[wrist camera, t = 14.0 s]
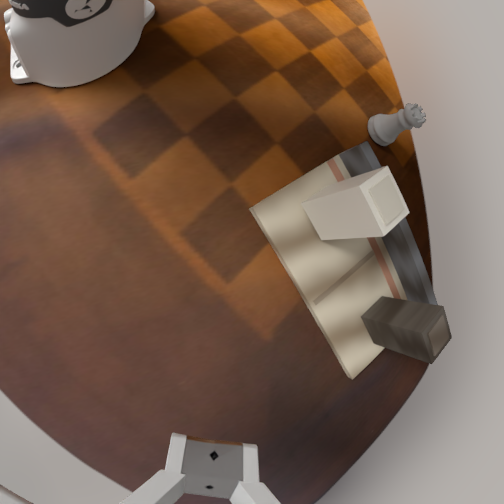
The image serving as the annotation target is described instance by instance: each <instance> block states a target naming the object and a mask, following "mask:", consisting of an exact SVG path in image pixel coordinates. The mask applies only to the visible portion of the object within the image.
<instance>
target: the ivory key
mask: <svg viewBox="0 0 504 504" xmlns="http://www.w3.org/2000/svg"><path fill="white" fill-rule="evenodd" d="M301 205H302V207H303V208H304V210H305V212H306V214H307V215H308V217H309V219H310V221H311V222H312V224H313V226H314V228H315V230H316V231H317V233H318V235H319V237H320V239H321V240H333V239H350V238H366V237H383V236H385V235H386V234H387V233H388V232H389V231H390V230H391V229H393V228H394V227H395V226H396V225H397V224H398V223H399V222H400V221H401V220H402V219H403V218H404V217H405V216H406V215H407V214H408V213H410V212H409V210H408V208H407V205H406V203H405V201H404V199H403V196H402V194H401V192H400V190H399V188H398V186H397V184H396V182H395V180H394V178H393V175H392V173H391V171H390V169H389V167H388V166H385V167H382V168H379V169H376V170H373V171H370V172H367V173H364V174H361V175H358V176H355V177H352V178H349V179H346V180H343V181H340V182H337V183H334V184H331V185H328V186H326V187H325V188H323V189H322V190H320V191H318V192H317V193H315V194H314V195H312V196H311V197H309V198H308V199H306V200H305V201H303V202H302V203H301Z"/></svg>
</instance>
